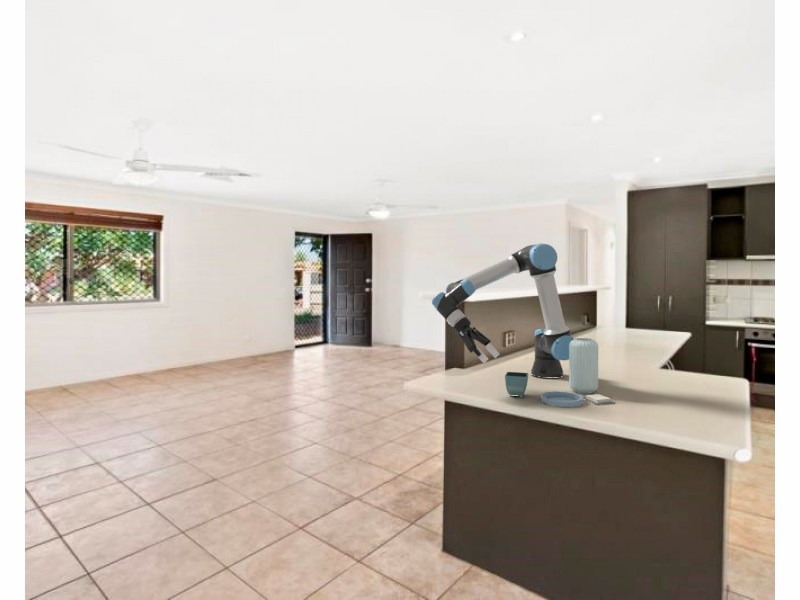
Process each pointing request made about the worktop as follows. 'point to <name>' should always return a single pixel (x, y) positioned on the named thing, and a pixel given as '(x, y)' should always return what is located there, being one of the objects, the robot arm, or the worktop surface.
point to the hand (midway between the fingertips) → (492, 358)
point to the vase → (583, 365)
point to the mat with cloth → (598, 399)
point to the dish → (562, 399)
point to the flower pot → (516, 383)
